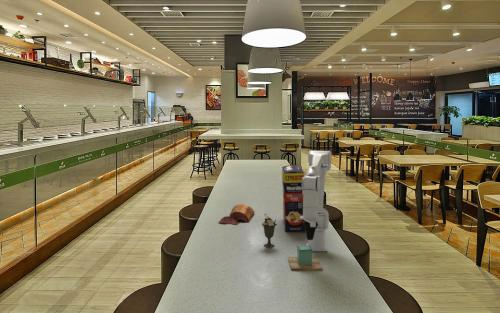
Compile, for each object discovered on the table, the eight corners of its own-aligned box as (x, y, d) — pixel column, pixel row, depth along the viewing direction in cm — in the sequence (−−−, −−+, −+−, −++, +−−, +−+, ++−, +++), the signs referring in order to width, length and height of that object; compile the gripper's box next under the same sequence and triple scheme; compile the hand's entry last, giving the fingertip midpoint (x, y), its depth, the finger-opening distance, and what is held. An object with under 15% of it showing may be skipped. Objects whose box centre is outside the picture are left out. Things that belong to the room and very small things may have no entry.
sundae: (258, 245, 170) (258, 213, 168) (268, 242, 175) (268, 211, 173) (269, 249, 165) (269, 216, 164) (279, 245, 170) (279, 213, 169)
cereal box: (282, 218, 217) (281, 164, 213) (302, 218, 216) (301, 163, 213) (284, 233, 190) (283, 171, 187) (306, 232, 190) (305, 170, 186)
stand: (288, 258, 154) (288, 247, 154) (316, 258, 154) (317, 247, 154) (291, 270, 142) (291, 258, 142) (322, 270, 142) (322, 258, 142)
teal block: (297, 259, 151) (297, 245, 150) (309, 259, 151) (310, 245, 150) (298, 265, 146) (298, 250, 145) (311, 264, 146) (312, 250, 145)
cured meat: (217, 224, 204) (217, 212, 204) (225, 213, 229) (225, 202, 228) (249, 226, 202) (250, 214, 202) (254, 215, 227) (254, 204, 226)
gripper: (298, 201, 154) (297, 233, 156) (302, 210, 140) (302, 245, 141) (315, 201, 154) (314, 233, 156) (321, 210, 140) (320, 245, 141)
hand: (309, 239), depth 149 cm, fingers closed
